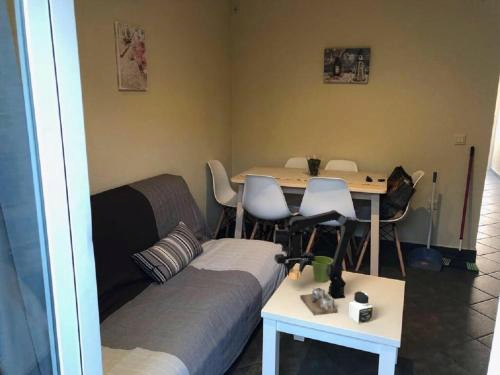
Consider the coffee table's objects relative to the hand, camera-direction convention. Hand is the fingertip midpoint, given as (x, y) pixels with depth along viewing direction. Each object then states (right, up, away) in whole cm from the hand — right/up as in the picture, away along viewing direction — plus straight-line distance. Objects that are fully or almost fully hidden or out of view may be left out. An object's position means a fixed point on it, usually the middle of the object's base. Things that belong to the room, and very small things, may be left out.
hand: (294, 274), depth 196 cm
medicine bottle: (+27, -16, -19) cm, 36 cm away
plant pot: (+17, -8, +21) cm, 28 cm away
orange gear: (0, -1, 0) cm, 1 cm away
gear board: (+10, -13, -7) cm, 18 cm away
